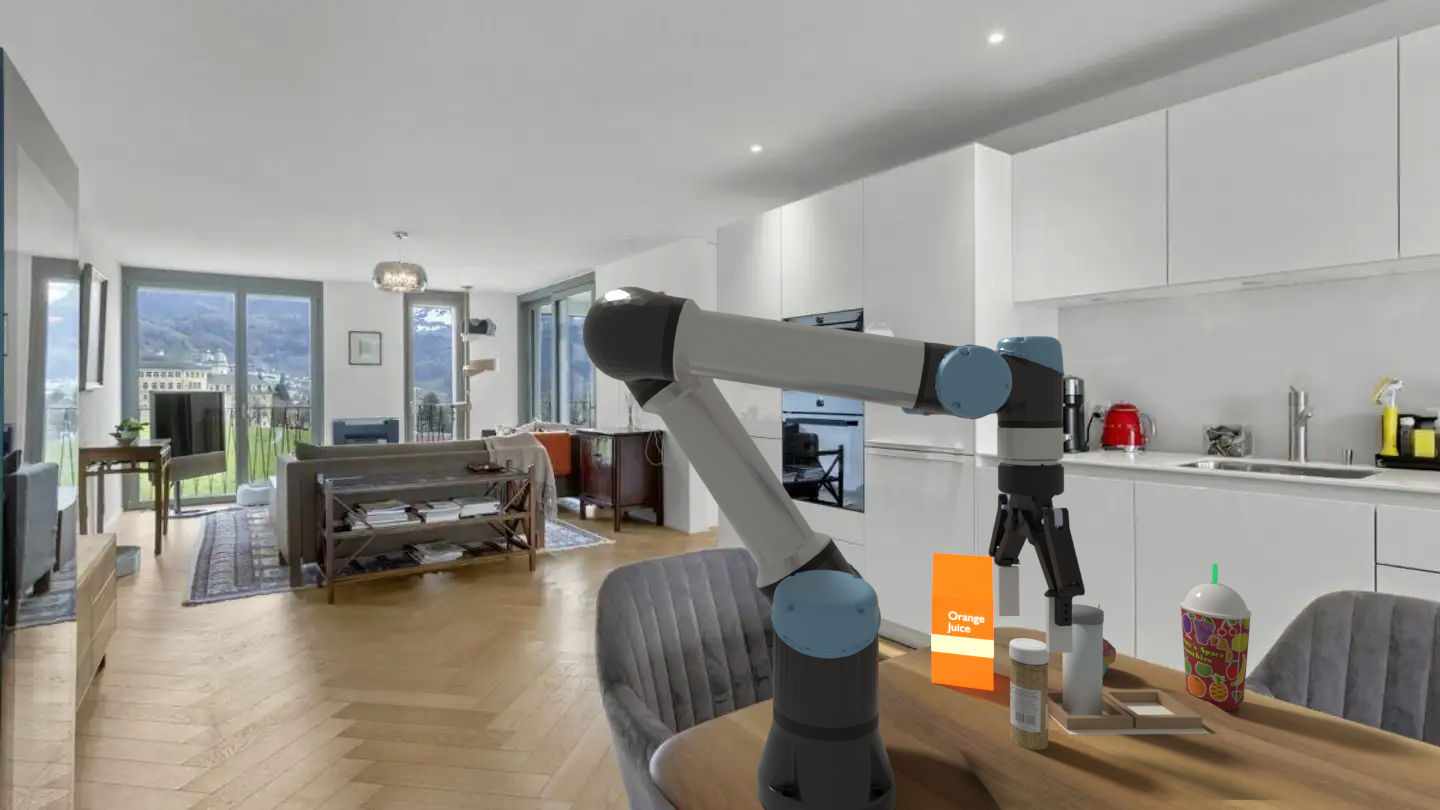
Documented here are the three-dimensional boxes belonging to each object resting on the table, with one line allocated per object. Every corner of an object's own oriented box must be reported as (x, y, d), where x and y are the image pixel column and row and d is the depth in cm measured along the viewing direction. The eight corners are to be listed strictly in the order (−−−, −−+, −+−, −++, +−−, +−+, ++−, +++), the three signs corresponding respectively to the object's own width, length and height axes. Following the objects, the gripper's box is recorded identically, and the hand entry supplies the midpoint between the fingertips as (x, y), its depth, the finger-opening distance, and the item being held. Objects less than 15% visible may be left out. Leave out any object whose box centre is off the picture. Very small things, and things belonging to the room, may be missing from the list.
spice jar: (1056, 753, 86) (1057, 644, 86) (1035, 763, 84) (1035, 652, 84) (1022, 738, 90) (1023, 634, 90) (1001, 747, 88) (1001, 641, 88)
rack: (1070, 743, 89) (1070, 722, 89) (1030, 705, 100) (1030, 686, 100) (1210, 742, 89) (1210, 721, 89) (1154, 704, 100) (1154, 685, 100)
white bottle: (1073, 723, 92) (1073, 615, 92) (1054, 706, 97) (1055, 604, 97) (1111, 722, 92) (1111, 615, 92) (1090, 706, 97) (1090, 604, 97)
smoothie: (1166, 695, 103) (1166, 560, 103) (1205, 687, 106) (1206, 555, 106) (1223, 719, 95) (1224, 573, 95) (1264, 710, 98) (1265, 568, 98)
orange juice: (933, 671, 112) (933, 547, 112) (992, 679, 109) (992, 551, 109) (930, 691, 105) (931, 558, 105) (994, 699, 102) (994, 562, 102)
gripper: (1119, 471, 74) (1120, 670, 75) (1015, 453, 99) (1017, 602, 99) (1049, 472, 74) (1051, 671, 74) (963, 454, 99) (964, 603, 99)
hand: (1031, 632), depth 87 cm, fingers open, 13 cm apart
